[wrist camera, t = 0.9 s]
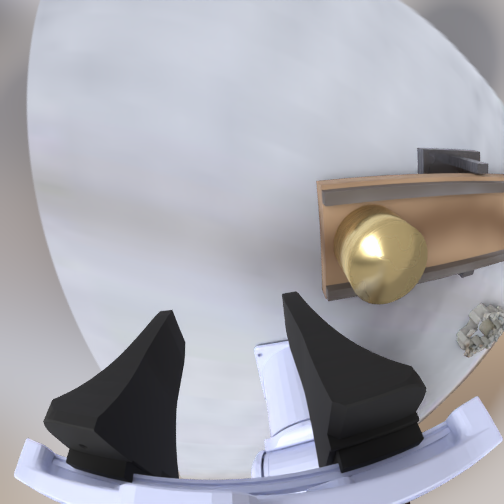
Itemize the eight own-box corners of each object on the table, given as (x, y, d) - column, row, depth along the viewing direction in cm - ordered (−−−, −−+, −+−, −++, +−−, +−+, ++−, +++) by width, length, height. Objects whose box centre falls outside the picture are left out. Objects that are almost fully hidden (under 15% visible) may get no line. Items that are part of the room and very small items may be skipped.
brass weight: (397, 268, 17) (420, 295, 14) (333, 279, 18) (348, 311, 15) (402, 201, 15) (432, 219, 12) (331, 208, 16) (350, 229, 13)
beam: (532, 243, 18) (542, 250, 16) (322, 289, 20) (328, 304, 18) (542, 177, 14) (553, 181, 13) (316, 181, 16) (323, 187, 14)
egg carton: (448, 340, 29) (462, 359, 25) (477, 296, 26) (495, 313, 22) (478, 342, 31) (491, 357, 27) (503, 305, 28) (517, 319, 24)
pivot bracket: (465, 252, 22) (490, 271, 18) (411, 266, 23) (436, 290, 19) (474, 150, 18) (506, 159, 14) (417, 148, 18) (452, 156, 14)
